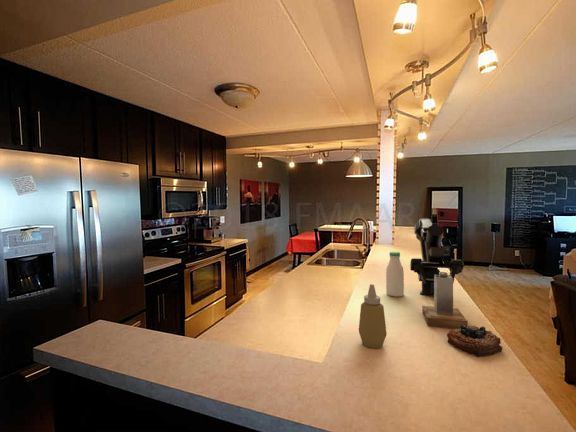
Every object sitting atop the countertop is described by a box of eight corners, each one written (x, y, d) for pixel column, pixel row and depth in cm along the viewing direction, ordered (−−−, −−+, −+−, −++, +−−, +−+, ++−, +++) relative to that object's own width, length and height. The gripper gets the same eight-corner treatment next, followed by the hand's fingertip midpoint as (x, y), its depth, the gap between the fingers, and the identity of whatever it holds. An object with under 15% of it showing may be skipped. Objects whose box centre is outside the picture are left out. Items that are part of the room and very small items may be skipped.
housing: (434, 309, 103) (434, 270, 102) (449, 310, 101) (449, 271, 101) (436, 314, 98) (436, 274, 97) (453, 315, 96) (453, 274, 96)
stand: (422, 313, 107) (422, 305, 107) (458, 316, 103) (457, 308, 103) (427, 326, 96) (427, 316, 96) (467, 330, 92) (467, 320, 92)
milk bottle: (404, 297, 126) (404, 253, 125) (386, 296, 128) (386, 253, 128) (403, 292, 133) (403, 251, 133) (386, 291, 136) (385, 250, 135)
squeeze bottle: (356, 348, 81) (356, 287, 81) (360, 336, 89) (359, 280, 89) (386, 353, 78) (385, 289, 78) (387, 340, 86) (386, 282, 86)
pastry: (507, 352, 78) (507, 331, 78) (477, 360, 74) (477, 338, 74) (470, 335, 89) (470, 317, 89) (442, 342, 85) (442, 323, 85)
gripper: (410, 238, 114) (413, 271, 104) (462, 239, 108) (471, 274, 98) (408, 254, 122) (411, 286, 112) (457, 255, 116) (465, 289, 106)
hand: (438, 284), depth 107 cm, fingers open, 9 cm apart
